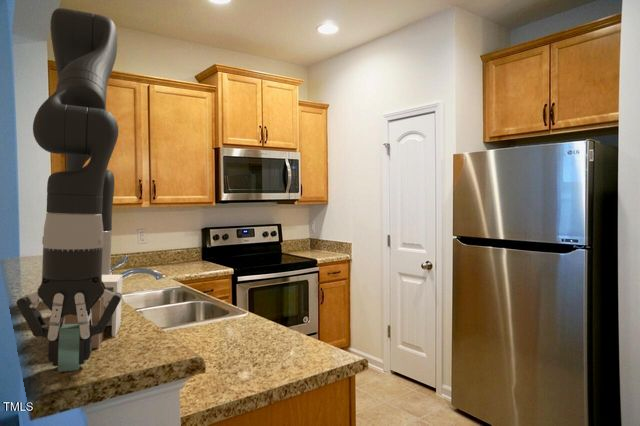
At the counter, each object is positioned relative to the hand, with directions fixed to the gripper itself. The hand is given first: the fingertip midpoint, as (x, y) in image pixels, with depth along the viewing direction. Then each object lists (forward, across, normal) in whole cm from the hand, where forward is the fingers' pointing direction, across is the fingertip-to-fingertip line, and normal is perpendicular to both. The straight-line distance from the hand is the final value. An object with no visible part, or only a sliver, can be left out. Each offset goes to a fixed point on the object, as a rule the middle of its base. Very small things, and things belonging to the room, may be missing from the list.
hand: (69, 362), depth 63 cm
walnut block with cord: (+1, 0, -6) cm, 6 cm away
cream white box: (+1, 0, -19) cm, 19 cm away
